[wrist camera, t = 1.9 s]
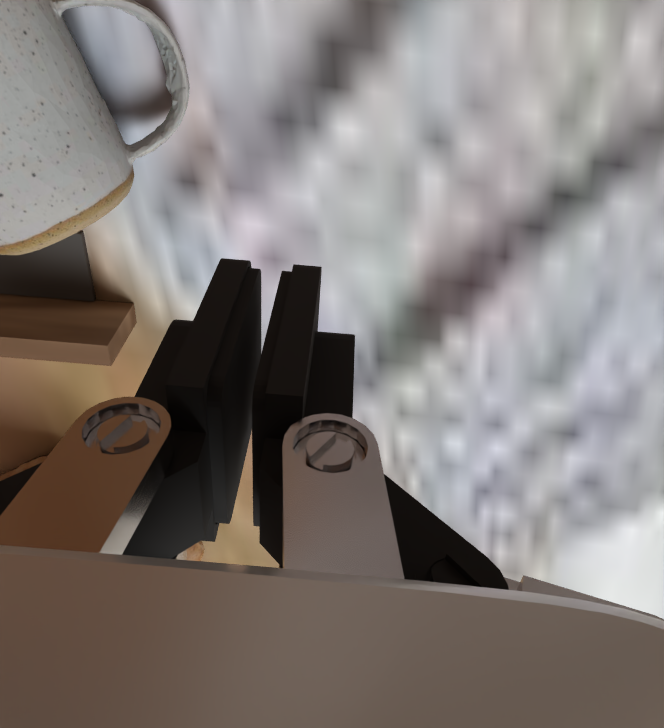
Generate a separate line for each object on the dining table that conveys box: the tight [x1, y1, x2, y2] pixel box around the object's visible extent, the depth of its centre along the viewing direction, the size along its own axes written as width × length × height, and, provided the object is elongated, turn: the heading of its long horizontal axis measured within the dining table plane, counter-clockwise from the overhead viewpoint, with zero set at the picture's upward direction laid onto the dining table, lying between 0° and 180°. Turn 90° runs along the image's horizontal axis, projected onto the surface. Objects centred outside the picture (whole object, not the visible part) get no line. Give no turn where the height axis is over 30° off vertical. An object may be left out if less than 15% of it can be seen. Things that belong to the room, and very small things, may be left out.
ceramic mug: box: [0, 0, 189, 255], centre depth 23 cm, size 11×8×8 cm
